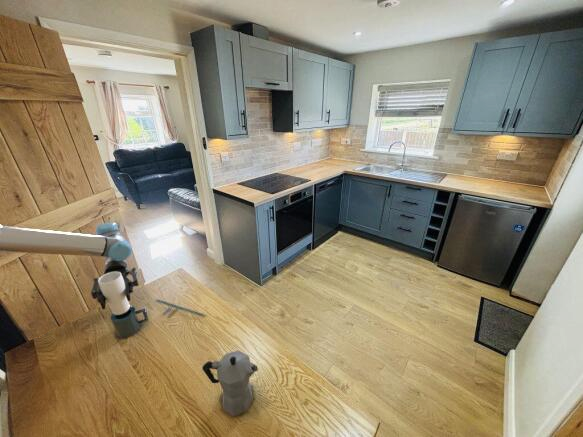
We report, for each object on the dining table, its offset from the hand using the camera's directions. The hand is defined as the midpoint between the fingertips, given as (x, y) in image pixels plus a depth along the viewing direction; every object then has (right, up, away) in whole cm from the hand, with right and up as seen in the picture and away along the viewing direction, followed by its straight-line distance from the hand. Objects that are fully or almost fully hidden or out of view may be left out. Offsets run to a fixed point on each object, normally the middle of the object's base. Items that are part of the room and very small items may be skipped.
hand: (115, 301), depth 80 cm
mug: (-2, -15, +12) cm, 19 cm away
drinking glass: (-3, -6, +7) cm, 10 cm away
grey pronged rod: (+2, -18, 0) cm, 19 cm away
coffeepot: (+43, -26, -10) cm, 51 cm away
